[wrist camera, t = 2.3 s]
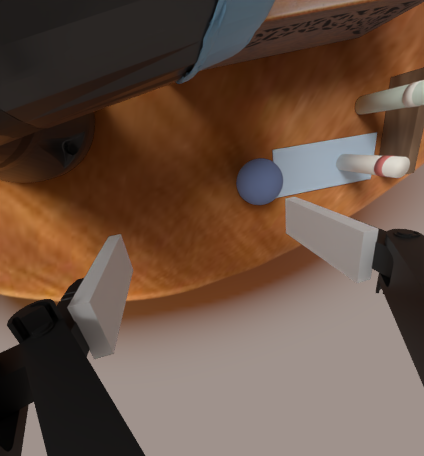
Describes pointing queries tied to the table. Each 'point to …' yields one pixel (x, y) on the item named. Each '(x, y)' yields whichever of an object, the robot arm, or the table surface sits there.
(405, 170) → the pin
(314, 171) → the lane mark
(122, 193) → the table surface
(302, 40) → the tissue box cover
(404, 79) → the rail
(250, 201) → the ball
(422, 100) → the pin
